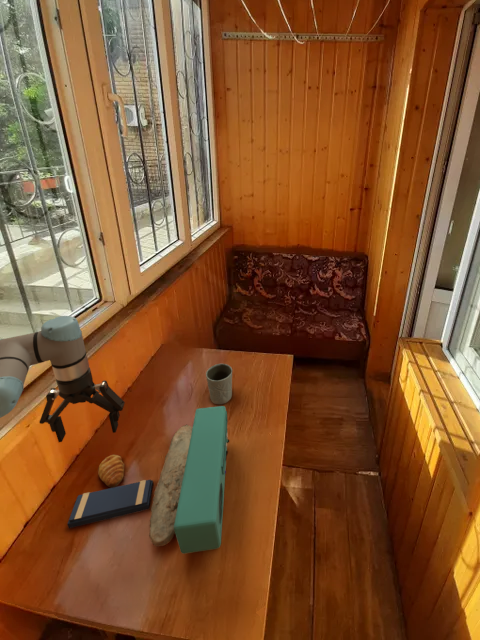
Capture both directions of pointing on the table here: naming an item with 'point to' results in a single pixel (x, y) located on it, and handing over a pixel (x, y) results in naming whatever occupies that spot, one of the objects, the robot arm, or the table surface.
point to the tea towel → (111, 503)
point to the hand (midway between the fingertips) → (89, 433)
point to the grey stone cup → (220, 383)
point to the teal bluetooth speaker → (203, 483)
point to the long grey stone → (169, 488)
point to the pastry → (111, 470)
